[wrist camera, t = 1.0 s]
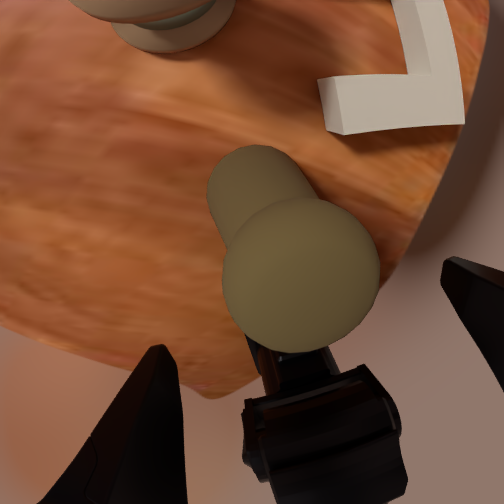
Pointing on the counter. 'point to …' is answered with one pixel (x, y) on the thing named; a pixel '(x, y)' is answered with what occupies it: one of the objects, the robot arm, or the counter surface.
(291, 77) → the counter surface
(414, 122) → the notched board
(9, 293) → the counter surface
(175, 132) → the counter surface
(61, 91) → the counter surface
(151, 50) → the brown spool-shaped piece
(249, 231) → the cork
